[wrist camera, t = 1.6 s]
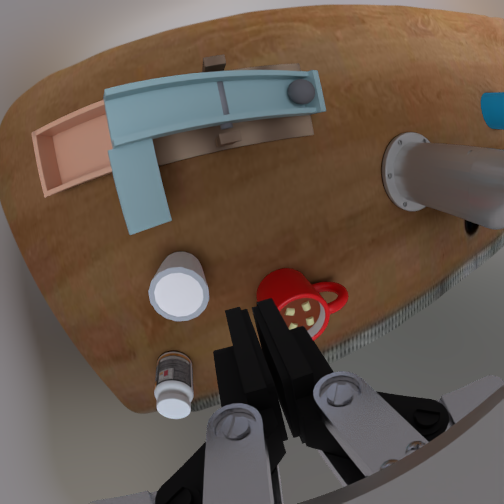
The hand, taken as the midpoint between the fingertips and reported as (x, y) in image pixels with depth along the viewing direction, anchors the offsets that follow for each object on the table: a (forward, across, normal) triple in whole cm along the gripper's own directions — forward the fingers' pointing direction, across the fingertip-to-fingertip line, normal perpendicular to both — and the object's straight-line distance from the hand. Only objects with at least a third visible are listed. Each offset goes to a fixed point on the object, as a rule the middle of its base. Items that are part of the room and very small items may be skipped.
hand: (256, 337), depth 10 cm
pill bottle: (+27, +12, +22) cm, 37 cm away
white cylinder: (+27, +6, +7) cm, 29 cm away
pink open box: (+27, +14, -12) cm, 33 cm away
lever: (+20, -3, -8) cm, 22 cm away
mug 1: (+27, -9, +14) cm, 32 cm away
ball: (+21, -12, -12) cm, 27 cm away
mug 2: (+26, -62, -11) cm, 68 cm away
